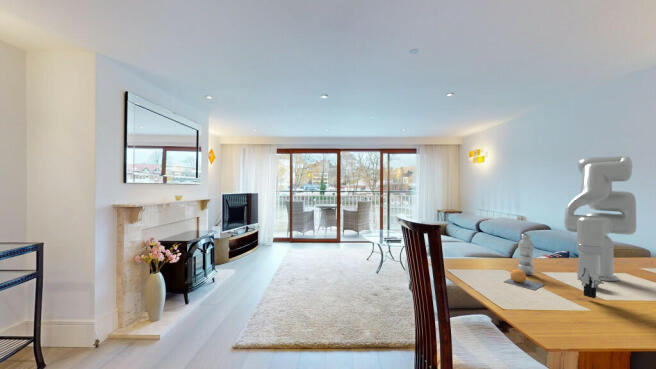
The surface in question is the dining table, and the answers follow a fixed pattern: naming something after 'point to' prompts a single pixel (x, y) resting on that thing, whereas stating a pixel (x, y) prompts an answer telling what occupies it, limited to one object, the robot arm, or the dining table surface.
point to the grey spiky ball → (598, 281)
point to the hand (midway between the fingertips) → (589, 296)
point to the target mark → (526, 284)
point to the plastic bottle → (525, 254)
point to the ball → (518, 275)
